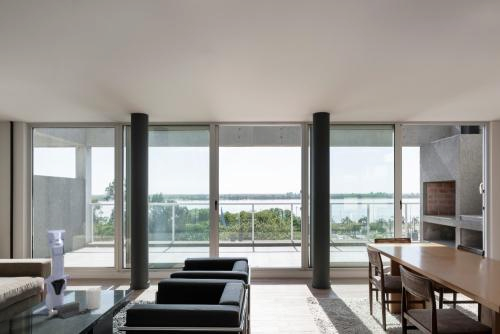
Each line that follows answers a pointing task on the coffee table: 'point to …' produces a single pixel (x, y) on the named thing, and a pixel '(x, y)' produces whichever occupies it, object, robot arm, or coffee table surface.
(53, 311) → the hinge pin
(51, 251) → the robot arm
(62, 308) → the hinge leaves
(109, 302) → the coffee table surface
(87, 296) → the white cup
